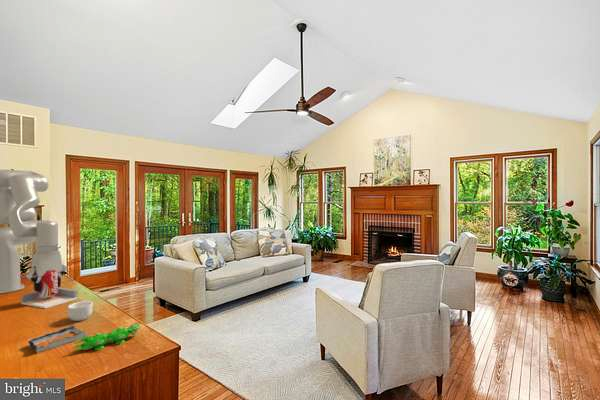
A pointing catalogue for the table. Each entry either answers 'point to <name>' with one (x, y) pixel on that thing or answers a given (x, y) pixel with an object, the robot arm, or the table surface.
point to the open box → (49, 298)
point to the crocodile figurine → (106, 338)
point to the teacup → (80, 310)
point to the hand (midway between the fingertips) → (47, 288)
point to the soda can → (49, 284)
